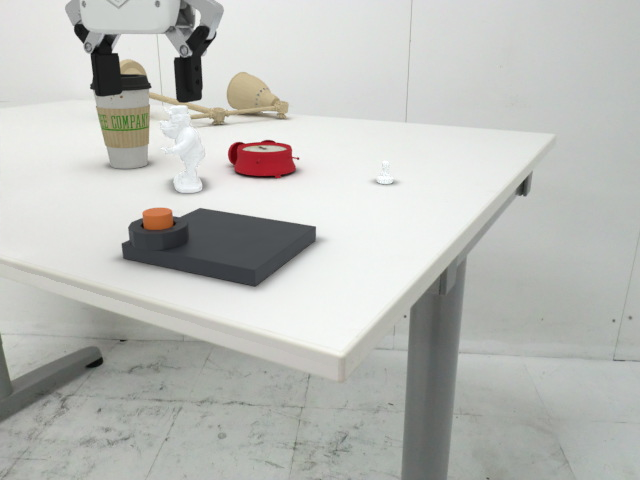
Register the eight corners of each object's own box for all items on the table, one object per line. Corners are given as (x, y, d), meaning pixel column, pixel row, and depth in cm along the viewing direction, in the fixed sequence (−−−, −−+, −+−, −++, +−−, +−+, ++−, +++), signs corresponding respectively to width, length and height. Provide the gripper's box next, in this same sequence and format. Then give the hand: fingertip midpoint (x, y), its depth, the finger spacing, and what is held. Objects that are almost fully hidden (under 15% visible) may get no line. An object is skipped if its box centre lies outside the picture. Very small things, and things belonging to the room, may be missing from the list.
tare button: (137, 229, 59) (136, 213, 58) (156, 221, 61) (155, 205, 61) (161, 234, 58) (159, 217, 57) (179, 225, 60) (178, 209, 60)
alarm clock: (249, 159, 88) (218, 123, 99) (246, 195, 91) (218, 156, 102) (309, 154, 93) (273, 120, 104) (305, 188, 96) (271, 152, 107)
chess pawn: (389, 185, 89) (390, 163, 88) (374, 182, 90) (375, 161, 89) (395, 181, 92) (396, 160, 90) (380, 179, 93) (381, 158, 91)
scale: (119, 259, 59) (116, 228, 58) (200, 220, 72) (199, 193, 70) (253, 288, 53) (251, 253, 52) (316, 240, 66) (316, 211, 64)
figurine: (161, 179, 91) (155, 102, 86) (203, 176, 92) (199, 101, 88) (164, 194, 82) (157, 110, 78) (209, 191, 84) (205, 109, 80)
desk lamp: (97, 65, 137) (242, 104, 126) (181, 43, 166) (305, 73, 155) (101, 124, 145) (238, 165, 134) (181, 93, 173) (299, 126, 162)
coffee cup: (90, 170, 95) (78, 77, 90) (112, 157, 104) (102, 73, 99) (148, 171, 95) (139, 78, 90) (165, 159, 104) (158, 74, 99)
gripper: (21, -106, 49) (51, 96, 55) (187, -123, 43) (200, 108, 49) (86, -90, 56) (107, 90, 62) (239, -102, 49) (245, 99, 55)
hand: (148, 98), depth 55 cm, fingers open, 9 cm apart
